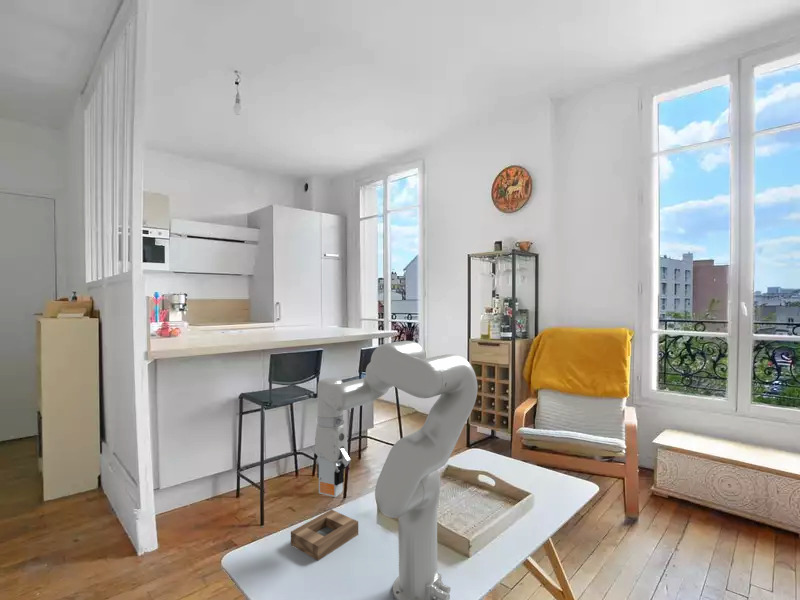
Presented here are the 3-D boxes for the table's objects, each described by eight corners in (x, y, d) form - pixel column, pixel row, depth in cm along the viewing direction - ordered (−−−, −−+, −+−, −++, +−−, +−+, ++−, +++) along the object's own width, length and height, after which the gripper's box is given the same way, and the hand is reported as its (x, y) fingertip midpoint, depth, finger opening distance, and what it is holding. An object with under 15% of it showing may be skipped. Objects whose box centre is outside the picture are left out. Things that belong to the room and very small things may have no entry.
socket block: (358, 534, 128) (358, 521, 128) (318, 560, 115) (317, 546, 115) (331, 521, 135) (331, 509, 135) (290, 545, 123) (290, 531, 123)
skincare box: (318, 494, 124) (317, 453, 124) (326, 488, 128) (325, 449, 128) (335, 497, 121) (335, 456, 121) (343, 491, 125) (343, 451, 125)
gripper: (360, 423, 122) (360, 484, 122) (320, 412, 133) (320, 468, 133) (341, 429, 116) (341, 493, 116) (301, 417, 127) (301, 476, 127)
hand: (330, 479), depth 125 cm, fingers closed on skincare box, 6 cm apart
